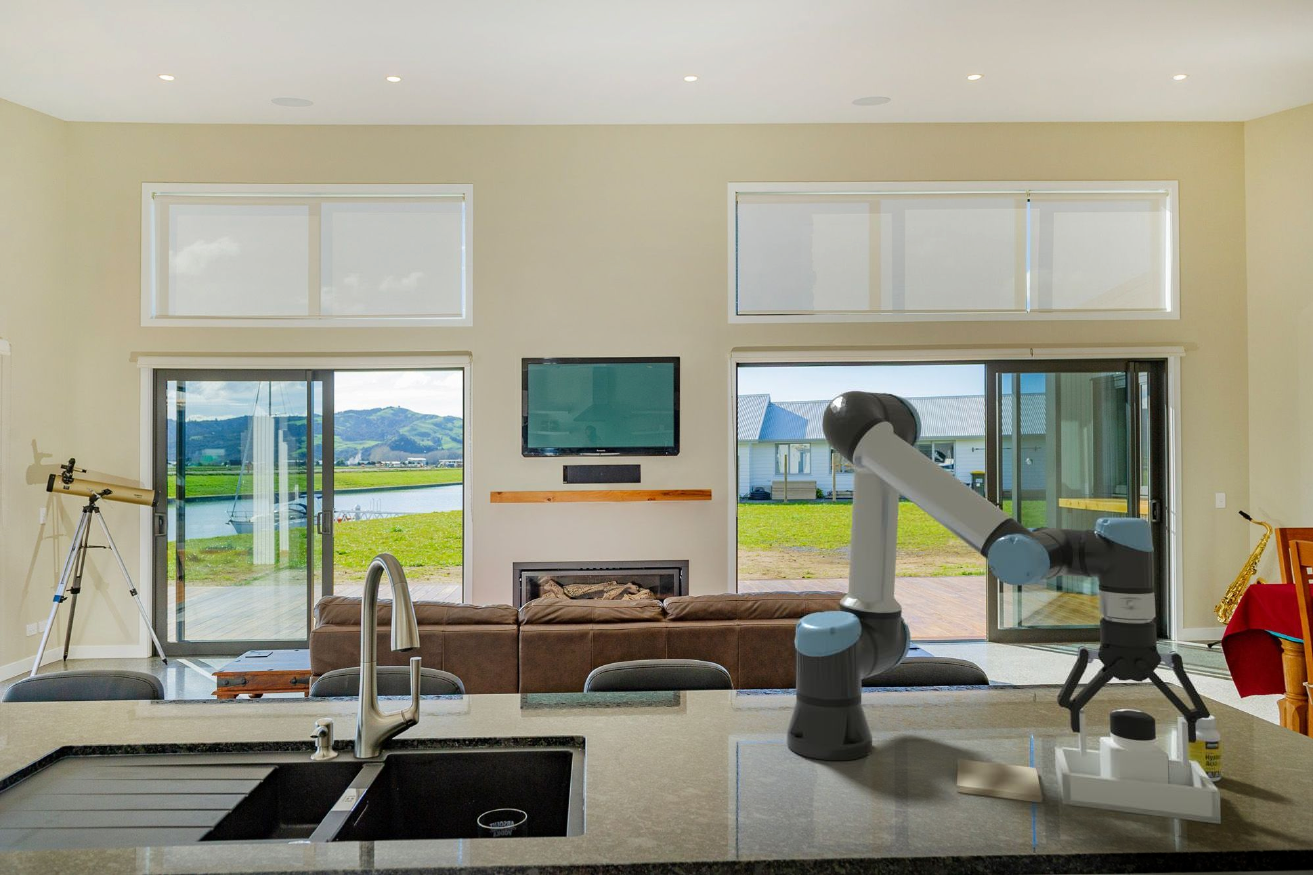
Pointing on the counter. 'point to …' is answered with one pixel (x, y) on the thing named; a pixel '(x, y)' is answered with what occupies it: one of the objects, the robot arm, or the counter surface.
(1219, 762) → the supplement bottle
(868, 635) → the robot arm
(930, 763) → the counter surface
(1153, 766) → the medicine bottle
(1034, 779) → the board
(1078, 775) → the parts bin
